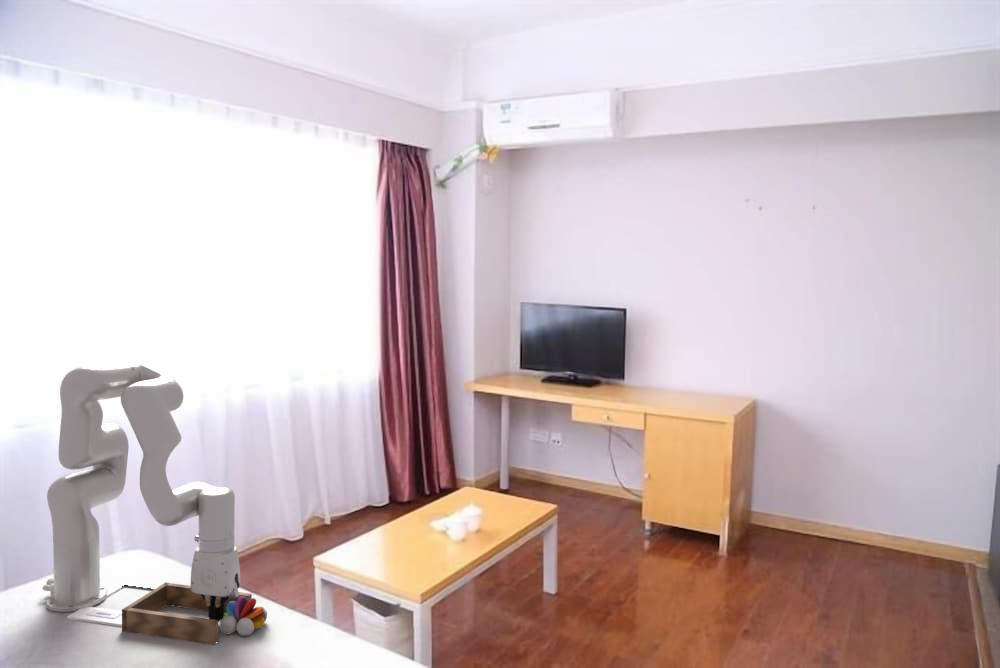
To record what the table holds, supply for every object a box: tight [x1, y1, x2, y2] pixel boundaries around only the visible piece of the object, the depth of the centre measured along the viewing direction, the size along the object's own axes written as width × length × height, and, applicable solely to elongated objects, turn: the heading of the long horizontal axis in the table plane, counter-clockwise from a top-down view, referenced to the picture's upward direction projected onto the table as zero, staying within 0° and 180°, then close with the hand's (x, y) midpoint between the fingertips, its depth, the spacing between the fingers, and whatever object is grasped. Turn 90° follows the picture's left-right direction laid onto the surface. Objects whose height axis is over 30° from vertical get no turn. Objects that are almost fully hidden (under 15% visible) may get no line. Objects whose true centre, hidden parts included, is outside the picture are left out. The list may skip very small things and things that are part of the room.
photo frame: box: [66, 583, 157, 628], centre depth 164 cm, size 15×1×18 cm
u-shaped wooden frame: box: [121, 582, 253, 645], centre depth 156 cm, size 23×14×5 cm, turn 79°
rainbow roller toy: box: [219, 596, 268, 637], centre depth 154 cm, size 8×10×7 cm
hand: (216, 620), depth 155 cm, fingers closed
